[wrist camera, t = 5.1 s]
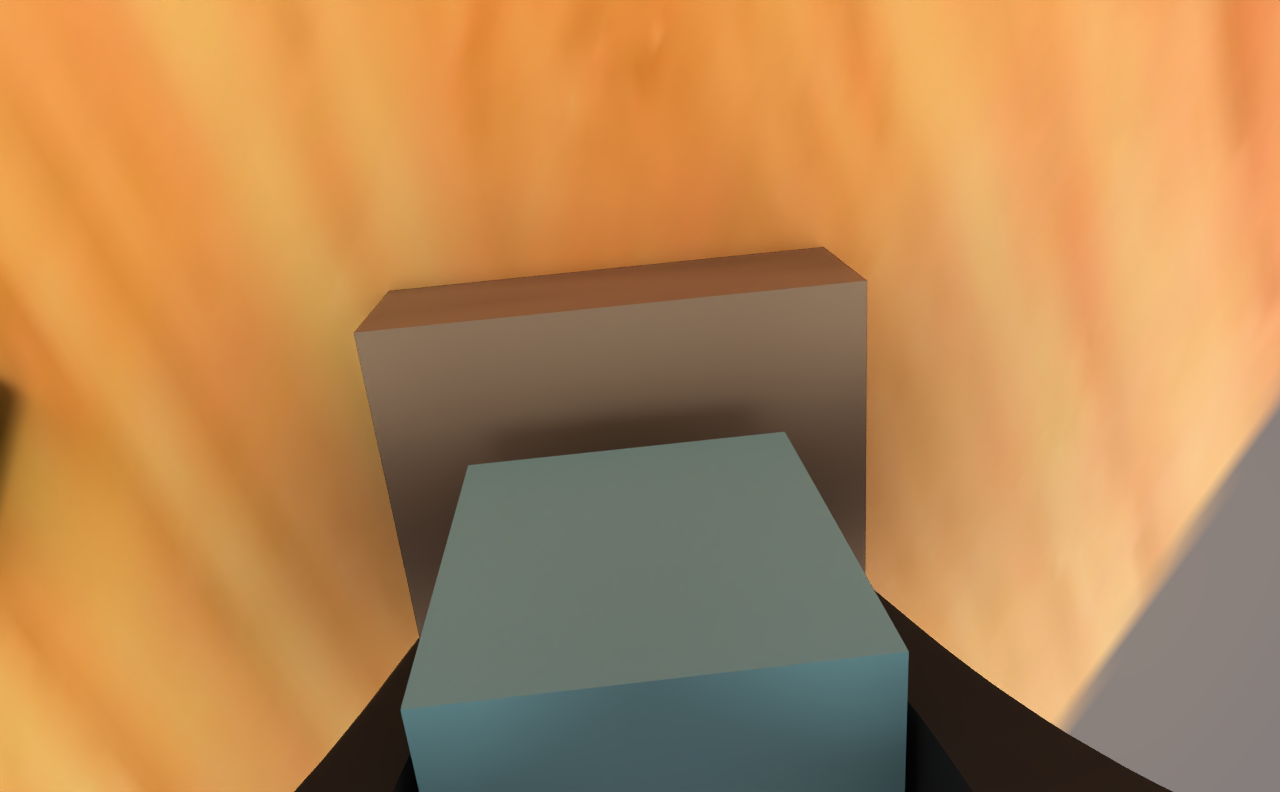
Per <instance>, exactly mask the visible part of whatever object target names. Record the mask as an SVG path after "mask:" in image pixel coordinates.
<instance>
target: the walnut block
mask: <svg viewBox="0 0 1280 792" xmlns="http://www.w3.org/2000/svg"><path fill="white" fill-rule="evenodd" d="M354 336H355V341H356V346H357V350H358V355H359V360H360V364H361V369H362V373H363V378H364V383H365V387H366V392H367V397H368V401H369V406H370V410H371V415H372V420H373V424H374V429H375V434H376V438H377V443H378V447H379V452H380V457H381V461H382V466H383V471H384V475H385V480H386V485H387V489H388V494H389V498H390V503H391V508H392V512H393V517H394V522H395V526H396V531H397V535H398V540H399V545H400V549H401V554H402V559H403V563H404V568H405V572H406V577H407V582H408V586H409V591H410V596H411V600H412V605H413V610H414V614H415V619H416V623H417V628H418V633H419V637H421V634H422V630H423V626H424V623H425V619H426V616H427V612H428V608H429V605H430V601H431V597H432V594H433V590H434V587H435V583H436V579H437V576H438V572H439V569H440V565H441V561H442V558H443V554H444V551H445V547H446V543H447V540H448V536H449V533H450V529H451V525H452V522H453V518H454V515H455V511H456V507H457V504H458V500H459V496H460V493H461V489H462V486H463V482H464V478H465V475H466V471H467V468H468V465H476V464H485V463H495V462H504V461H513V460H523V459H532V458H542V457H551V456H561V455H570V454H579V453H589V452H598V451H608V450H617V449H626V448H636V447H645V446H655V445H664V444H673V443H683V442H692V441H702V440H711V439H720V438H730V437H739V436H749V435H758V434H767V433H777V432H785V433H786V435H787V437H788V438H789V440H790V442H791V444H792V445H793V447H794V449H795V451H796V453H797V454H798V456H799V458H800V460H801V461H802V463H803V465H804V467H805V468H806V470H807V472H808V474H809V476H810V477H811V479H812V481H813V483H814V484H815V486H816V488H817V490H818V491H819V493H820V495H821V497H822V499H823V500H824V502H825V504H826V506H827V507H828V509H829V511H830V513H831V515H832V516H833V518H834V520H835V522H836V523H837V525H838V527H839V529H840V530H841V532H842V534H843V536H844V538H845V539H846V541H847V543H848V545H849V546H850V548H851V550H852V552H853V553H854V555H855V557H856V559H857V561H858V562H859V564H860V566H861V568H862V569H863V571H864V573H865V531H866V366H867V280H866V279H864V278H863V277H862V276H860V275H859V274H858V273H857V272H855V271H854V270H853V269H851V268H850V267H849V266H847V265H846V264H845V263H844V262H842V261H841V260H840V259H838V258H837V257H836V256H835V255H833V254H832V253H831V252H829V251H828V250H827V249H825V248H824V247H818V248H808V249H799V250H789V251H779V252H769V253H759V254H749V255H739V256H729V257H719V258H710V259H700V260H690V261H680V262H670V263H660V264H650V265H640V266H630V267H621V268H611V269H601V270H591V271H581V272H571V273H561V274H551V275H541V276H532V277H522V278H512V279H502V280H492V281H482V282H472V283H462V284H452V285H443V286H433V287H423V288H413V289H403V290H393V291H389V292H388V293H387V294H386V295H385V296H384V298H383V299H382V300H381V301H380V302H379V304H378V305H377V306H376V307H375V308H374V309H373V311H372V312H371V313H370V314H369V315H368V317H367V318H366V319H365V320H364V321H363V322H362V324H361V325H360V326H359V327H358V328H357V330H356V331H355V332H354Z"/></svg>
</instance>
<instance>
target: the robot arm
mask: <svg viewBox="0 0 1280 792" xmlns="http://www.w3.org/2000/svg"><path fill="white" fill-rule="evenodd" d="M874 591H875V590H874ZM875 592H876V591H875ZM876 594H877V596H878V598H879V600H880V601H881V603H882V605H883V607H884V608H885V610H886V612H887V614H888V616H889V617H890V619H891V621H892V623H893V624H894V626H895V628H896V630H897V631H898V633H899V635H900V637H901V639H902V640H903V642H904V644H905V646H906V647H907V649H908V651H909V662H908V697H907V733H906V768H905V792H1172V791H1170V790H1168V789H1166V788H1164V787H1162V786H1160V785H1158V784H1156V783H1154V782H1152V781H1150V780H1148V779H1146V778H1145V777H1143V776H1141V775H1139V774H1137V773H1135V772H1133V771H1131V770H1129V769H1128V768H1126V767H1124V766H1122V765H1120V764H1119V763H1117V762H1115V761H1113V760H1112V759H1110V758H1108V757H1106V756H1105V755H1103V754H1101V753H1100V752H1098V751H1096V750H1095V749H1093V748H1091V747H1089V746H1088V745H1086V744H1084V743H1082V742H1081V741H1079V740H1077V739H1076V738H1074V737H1072V736H1070V735H1069V734H1067V733H1065V732H1064V731H1062V730H1061V729H1059V728H1057V727H1056V726H1054V725H1053V724H1051V723H1049V722H1048V721H1046V720H1045V719H1043V718H1042V717H1040V716H1039V715H1037V714H1036V713H1034V712H1033V711H1031V710H1030V709H1028V708H1027V707H1025V706H1024V705H1022V704H1021V703H1019V702H1018V701H1017V700H1015V699H1014V698H1012V697H1011V696H1009V695H1008V694H1006V693H1005V692H1003V691H1002V690H1000V689H999V688H997V687H996V686H995V685H993V684H992V683H991V682H989V681H988V680H986V679H985V678H984V677H982V676H981V675H979V674H978V673H977V672H975V671H974V670H973V669H971V668H970V667H969V666H968V665H966V664H965V663H964V662H962V661H961V660H960V659H958V658H957V657H956V656H954V655H953V654H952V653H950V652H949V651H948V650H947V649H945V648H944V647H943V646H942V645H940V644H939V643H938V642H937V641H935V640H934V639H933V638H932V637H930V636H929V635H928V634H927V633H926V632H924V631H923V630H922V629H921V628H919V627H918V626H917V625H916V624H915V623H913V622H912V621H911V620H910V619H909V618H907V617H906V616H905V615H904V614H903V613H901V612H900V611H899V610H898V609H897V608H895V607H894V606H893V605H892V604H891V603H889V602H888V601H887V600H886V599H884V598H883V597H882V596H881V595H880V594H878V593H877V592H876ZM419 641H420V638H419V639H418V640H417V641H416V642H415V644H414V645H413V646H412V647H411V649H410V650H409V651H408V653H407V654H406V655H405V656H404V658H403V659H402V660H401V662H400V663H399V664H398V666H397V667H396V668H395V670H394V671H393V672H392V674H391V675H390V676H389V678H388V679H387V680H386V682H385V683H384V684H383V685H382V687H381V688H380V689H379V691H378V692H377V693H376V695H375V696H374V697H373V698H372V700H371V701H370V702H369V704H368V705H367V706H366V707H365V709H364V710H363V711H362V712H361V714H360V715H359V716H358V717H357V719H356V720H355V721H354V722H353V724H352V725H351V726H350V727H349V729H348V730H347V731H346V732H345V733H344V735H343V736H342V737H341V738H340V740H339V741H338V742H337V743H336V745H335V746H334V747H333V748H332V749H331V751H330V752H329V753H328V754H327V755H326V757H325V758H324V759H323V760H322V761H321V762H320V763H319V765H318V766H317V767H316V768H315V769H314V770H313V771H312V772H311V774H310V775H309V776H308V777H307V778H306V779H305V780H304V781H303V782H302V784H301V785H300V786H299V787H298V788H297V789H296V790H295V791H294V792H419V789H418V784H417V780H416V776H415V771H414V767H413V763H412V758H411V754H410V750H409V745H408V741H407V736H406V732H405V728H404V723H403V719H402V715H401V710H400V709H401V706H402V702H403V698H404V695H405V691H406V688H407V684H408V680H409V677H410V673H411V670H412V666H413V662H414V659H415V655H416V652H417V648H418V644H419Z"/></svg>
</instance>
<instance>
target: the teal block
mask: <svg viewBox="0 0 1280 792" xmlns="http://www.w3.org/2000/svg"><path fill="white" fill-rule="evenodd" d="M908 662H909V651H908V649H907V647H906V646H905V644H904V642H903V640H902V639H901V637H900V635H899V633H898V631H897V630H896V628H895V626H894V624H893V623H892V621H891V619H890V617H889V616H888V614H887V612H886V610H885V608H884V607H883V605H882V603H881V601H880V600H879V598H878V596H877V594H876V592H875V591H874V589H873V587H872V585H871V584H870V582H869V580H868V578H867V577H866V575H865V573H864V571H863V569H862V568H861V566H860V564H859V562H858V561H857V559H856V557H855V555H854V553H853V552H852V550H851V548H850V546H849V545H848V543H847V541H846V539H845V538H844V536H843V534H842V532H841V530H840V529H839V527H838V525H837V523H836V522H835V520H834V518H833V516H832V515H831V513H830V511H829V509H828V507H827V506H826V504H825V502H824V500H823V499H822V497H821V495H820V493H819V491H818V490H817V488H816V486H815V484H814V483H813V481H812V479H811V477H810V476H809V474H808V472H807V470H806V468H805V467H804V465H803V463H802V461H801V460H800V458H799V456H798V454H797V453H796V451H795V449H794V447H793V445H792V444H791V442H790V440H789V438H788V437H787V435H786V433H785V432H777V433H767V434H758V435H749V436H739V437H730V438H720V439H711V440H702V441H692V442H683V443H673V444H664V445H655V446H645V447H636V448H626V449H617V450H608V451H598V452H589V453H579V454H570V455H561V456H551V457H542V458H532V459H523V460H513V461H504V462H495V463H485V464H476V465H468V468H467V471H466V475H465V478H464V482H463V486H462V489H461V493H460V496H459V500H458V504H457V507H456V511H455V515H454V518H453V522H452V525H451V529H450V533H449V536H448V540H447V543H446V547H445V551H444V554H443V558H442V561H441V565H440V569H439V572H438V576H437V579H436V583H435V587H434V590H433V594H432V597H431V601H430V605H429V608H428V612H427V616H426V619H425V623H424V626H423V630H422V634H421V637H420V641H419V644H418V648H417V652H416V655H415V659H414V662H413V666H412V670H411V673H410V677H409V680H408V684H407V688H406V691H405V695H404V698H403V702H402V706H401V709H400V710H401V715H402V719H403V723H404V728H405V732H406V736H407V741H408V745H409V750H410V754H411V758H412V763H413V767H414V771H415V776H416V780H417V784H418V789H419V792H905V768H906V733H907V697H908Z"/></svg>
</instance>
